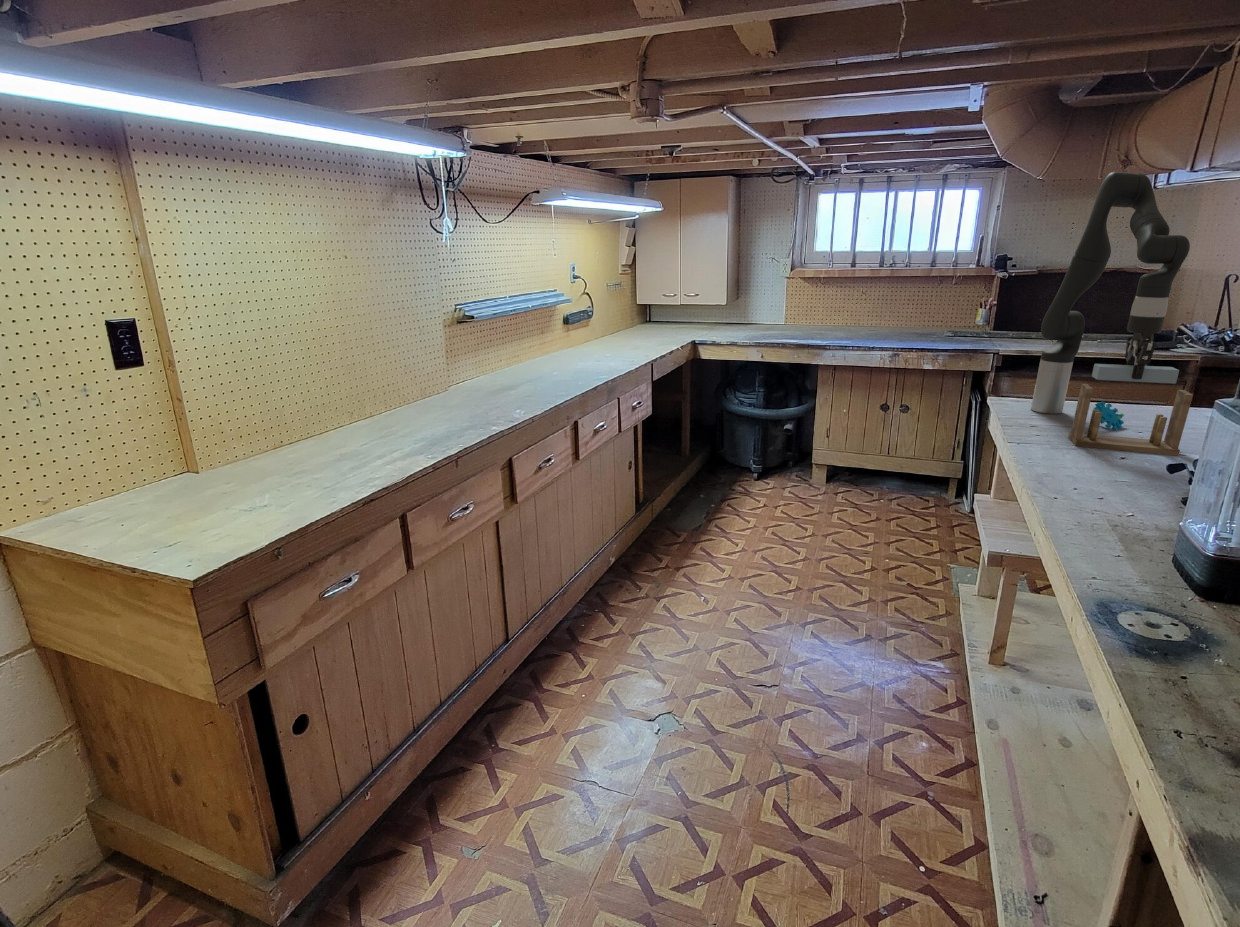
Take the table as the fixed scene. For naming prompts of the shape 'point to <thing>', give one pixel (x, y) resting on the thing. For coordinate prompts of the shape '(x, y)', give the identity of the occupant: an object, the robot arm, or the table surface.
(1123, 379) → the grey rectangular block
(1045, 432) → the table surface
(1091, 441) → the stand
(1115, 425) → the gear
